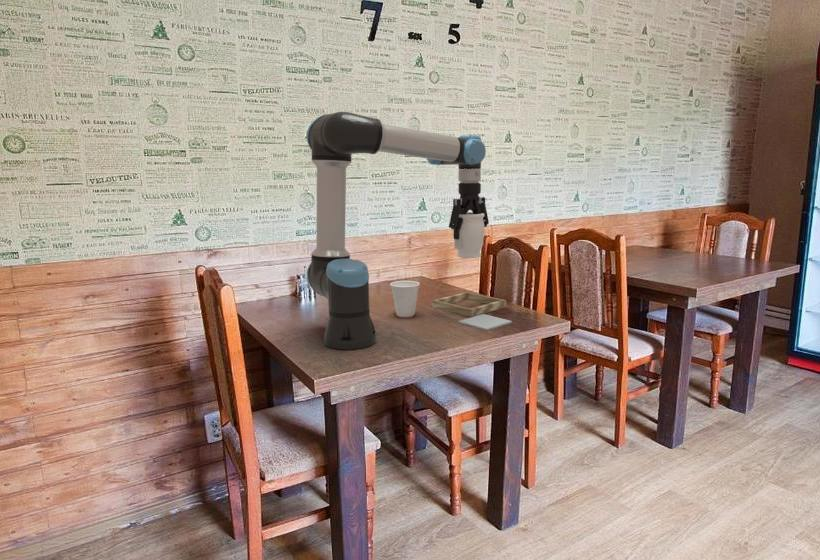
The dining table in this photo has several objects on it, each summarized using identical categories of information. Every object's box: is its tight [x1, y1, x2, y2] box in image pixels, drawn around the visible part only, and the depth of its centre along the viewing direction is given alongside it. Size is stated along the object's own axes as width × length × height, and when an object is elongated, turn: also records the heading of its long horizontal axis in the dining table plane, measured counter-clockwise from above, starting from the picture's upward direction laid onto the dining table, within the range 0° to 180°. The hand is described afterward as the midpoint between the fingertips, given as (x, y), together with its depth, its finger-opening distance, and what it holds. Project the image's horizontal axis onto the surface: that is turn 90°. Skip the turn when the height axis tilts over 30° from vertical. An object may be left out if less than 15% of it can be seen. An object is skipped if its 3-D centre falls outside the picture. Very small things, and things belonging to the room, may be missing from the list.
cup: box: [389, 280, 421, 318], centre depth 186 cm, size 10×10×11 cm
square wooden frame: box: [431, 291, 507, 318], centre depth 196 cm, size 18×18×2 cm
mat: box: [458, 313, 513, 332], centre depth 176 cm, size 12×12×1 cm
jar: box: [456, 211, 485, 259], centre depth 191 cm, size 11×10×15 cm
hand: (469, 246), depth 192 cm, fingers closed on jar, 10 cm apart
